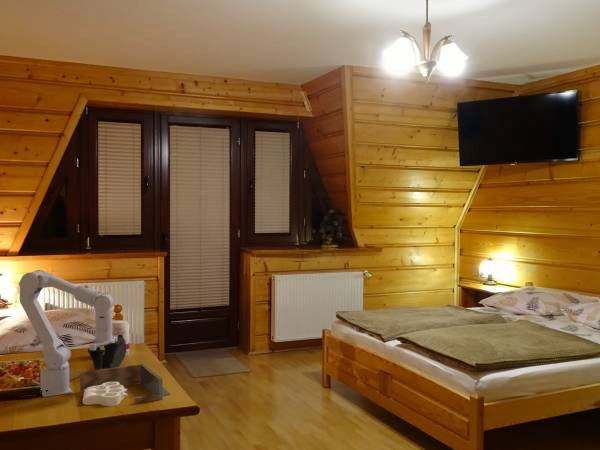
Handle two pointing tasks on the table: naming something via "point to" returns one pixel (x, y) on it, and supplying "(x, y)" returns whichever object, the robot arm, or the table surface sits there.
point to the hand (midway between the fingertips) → (103, 365)
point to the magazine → (116, 354)
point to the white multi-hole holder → (104, 394)
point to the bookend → (152, 382)
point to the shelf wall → (115, 379)
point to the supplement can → (122, 332)
